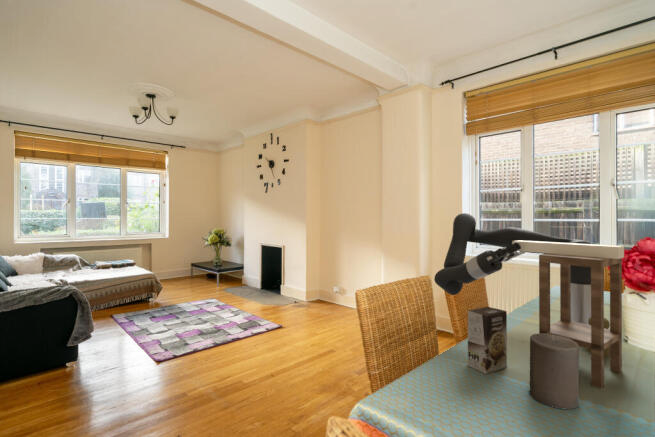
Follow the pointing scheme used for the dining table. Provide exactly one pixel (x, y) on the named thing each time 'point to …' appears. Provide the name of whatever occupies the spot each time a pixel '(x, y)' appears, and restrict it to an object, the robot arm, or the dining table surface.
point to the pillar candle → (554, 370)
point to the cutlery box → (572, 249)
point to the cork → (606, 326)
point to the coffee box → (487, 339)
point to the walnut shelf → (594, 333)
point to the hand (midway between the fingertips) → (526, 244)
